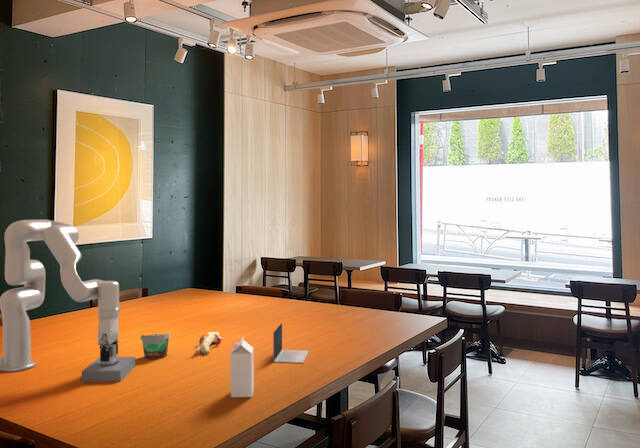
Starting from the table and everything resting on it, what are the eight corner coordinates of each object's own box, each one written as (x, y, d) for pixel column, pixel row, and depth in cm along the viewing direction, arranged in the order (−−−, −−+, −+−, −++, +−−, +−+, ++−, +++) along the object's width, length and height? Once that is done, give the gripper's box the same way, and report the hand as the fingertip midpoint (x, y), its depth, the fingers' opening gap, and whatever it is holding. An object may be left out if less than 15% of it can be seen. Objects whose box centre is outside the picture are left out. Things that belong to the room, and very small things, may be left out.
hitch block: (81, 382, 192) (81, 371, 192) (99, 367, 210) (99, 357, 210) (120, 381, 193) (120, 370, 192) (135, 366, 210) (135, 356, 210)
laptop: (303, 364, 214) (303, 332, 214) (273, 363, 216) (272, 332, 215) (308, 352, 232) (308, 323, 232) (281, 351, 234) (281, 322, 233)
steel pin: (102, 375, 199) (102, 347, 199) (106, 372, 203) (105, 344, 203) (113, 375, 199) (112, 346, 199) (116, 372, 203) (116, 344, 203)
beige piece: (213, 358, 227) (225, 338, 252) (212, 338, 226) (224, 321, 251) (190, 357, 228) (204, 338, 252) (190, 338, 227) (204, 321, 251)
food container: (139, 361, 218) (139, 337, 218) (140, 356, 224) (140, 333, 224) (170, 358, 221) (170, 335, 221) (170, 354, 227) (170, 331, 227)
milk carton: (253, 390, 183) (253, 336, 182) (251, 397, 176) (251, 341, 175) (233, 390, 183) (233, 336, 182) (230, 398, 176) (230, 341, 175)
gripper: (106, 309, 209) (107, 351, 209) (90, 318, 192) (90, 364, 192) (125, 308, 209) (126, 351, 210) (111, 318, 192) (111, 364, 192)
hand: (109, 357), depth 201 cm, fingers open, 9 cm apart
